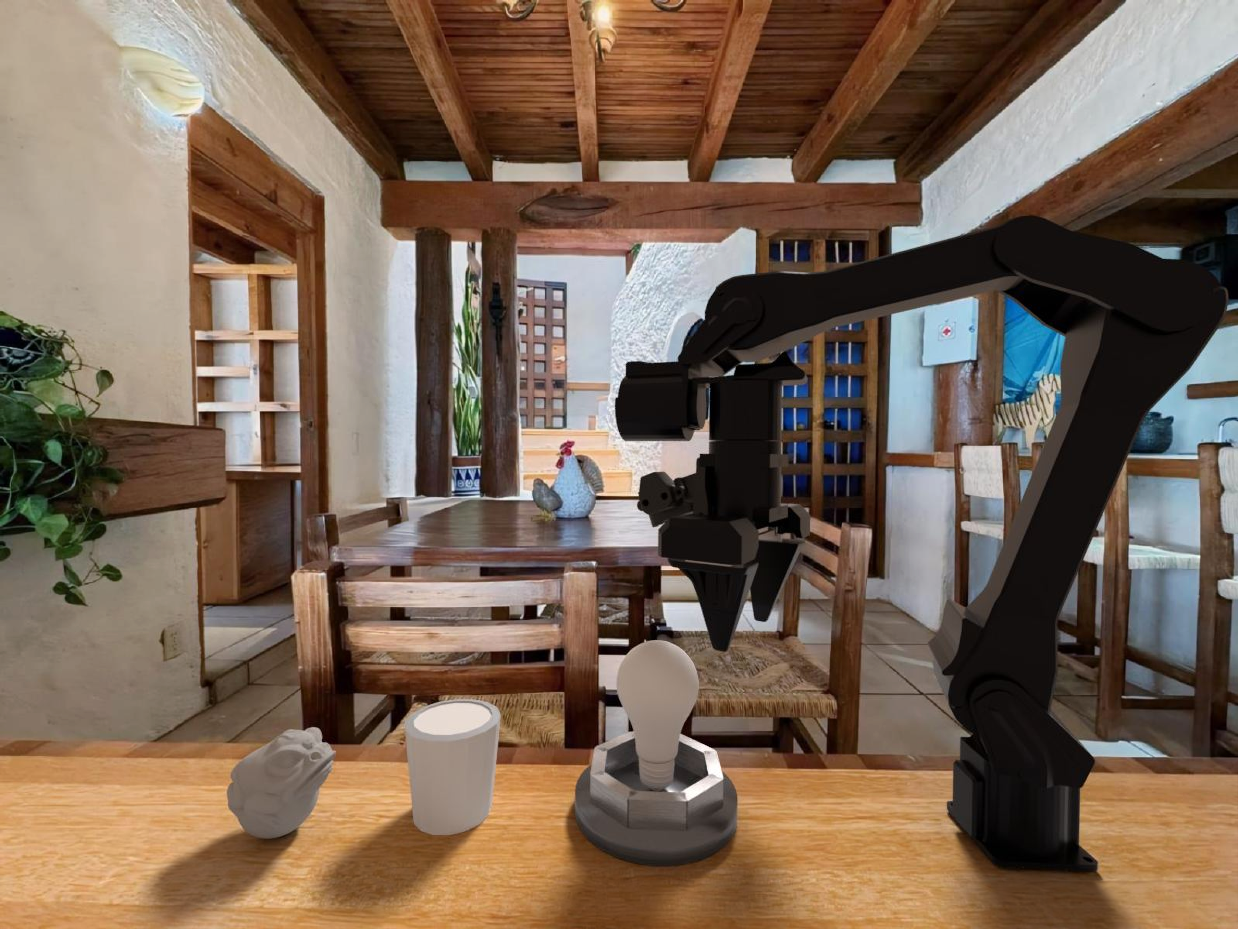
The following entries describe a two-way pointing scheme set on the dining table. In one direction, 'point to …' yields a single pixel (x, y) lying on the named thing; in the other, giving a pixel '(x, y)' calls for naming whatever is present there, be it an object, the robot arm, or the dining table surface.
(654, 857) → the socket base
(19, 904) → the dining table surface
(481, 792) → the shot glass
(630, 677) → the lightbulb
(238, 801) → the frog figurine
